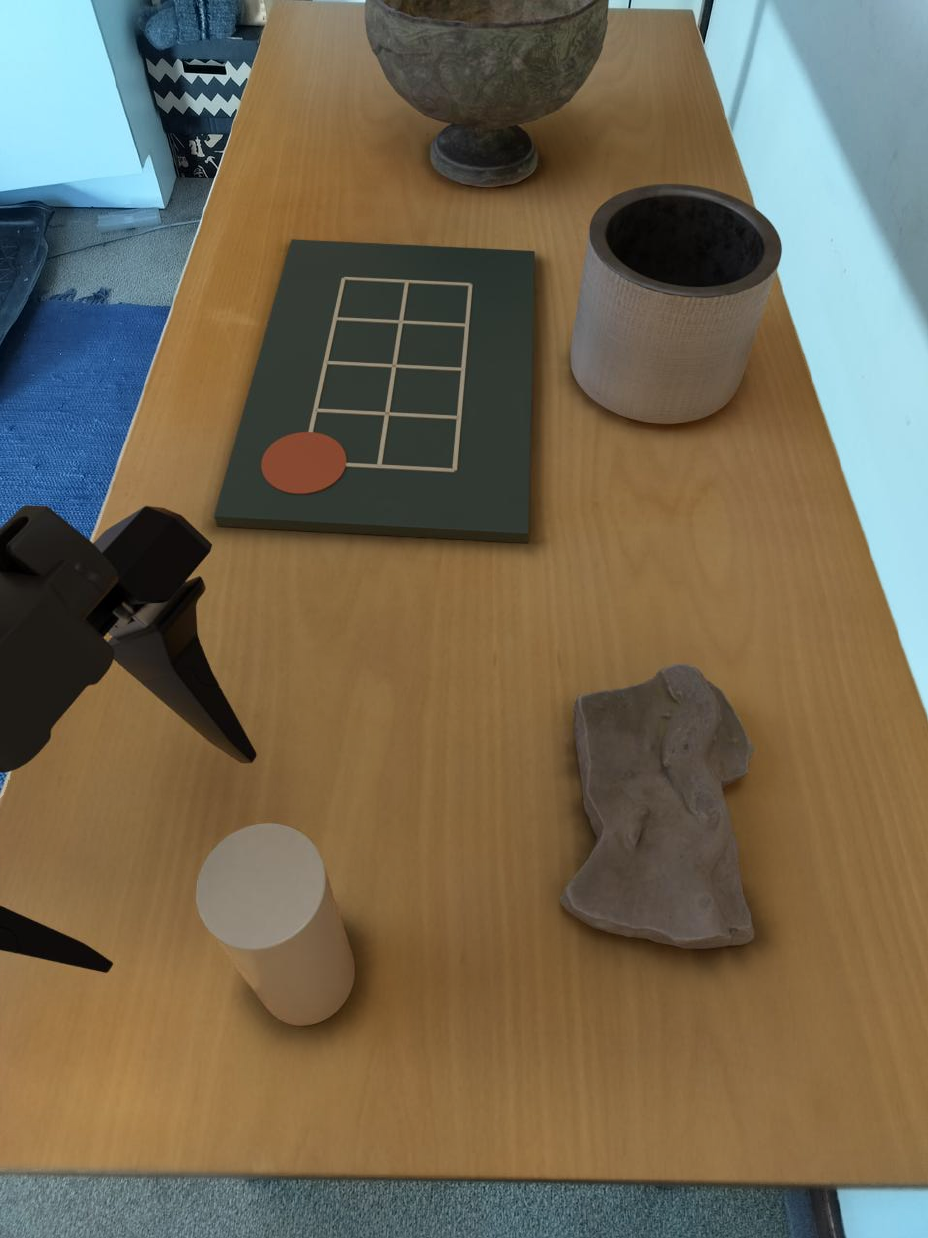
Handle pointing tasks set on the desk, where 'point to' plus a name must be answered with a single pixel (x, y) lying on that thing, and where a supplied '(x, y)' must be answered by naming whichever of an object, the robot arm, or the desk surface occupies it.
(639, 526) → the desk surface
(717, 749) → the stone
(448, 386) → the board
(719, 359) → the planter
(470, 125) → the bowl
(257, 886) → the white upright cylinder
